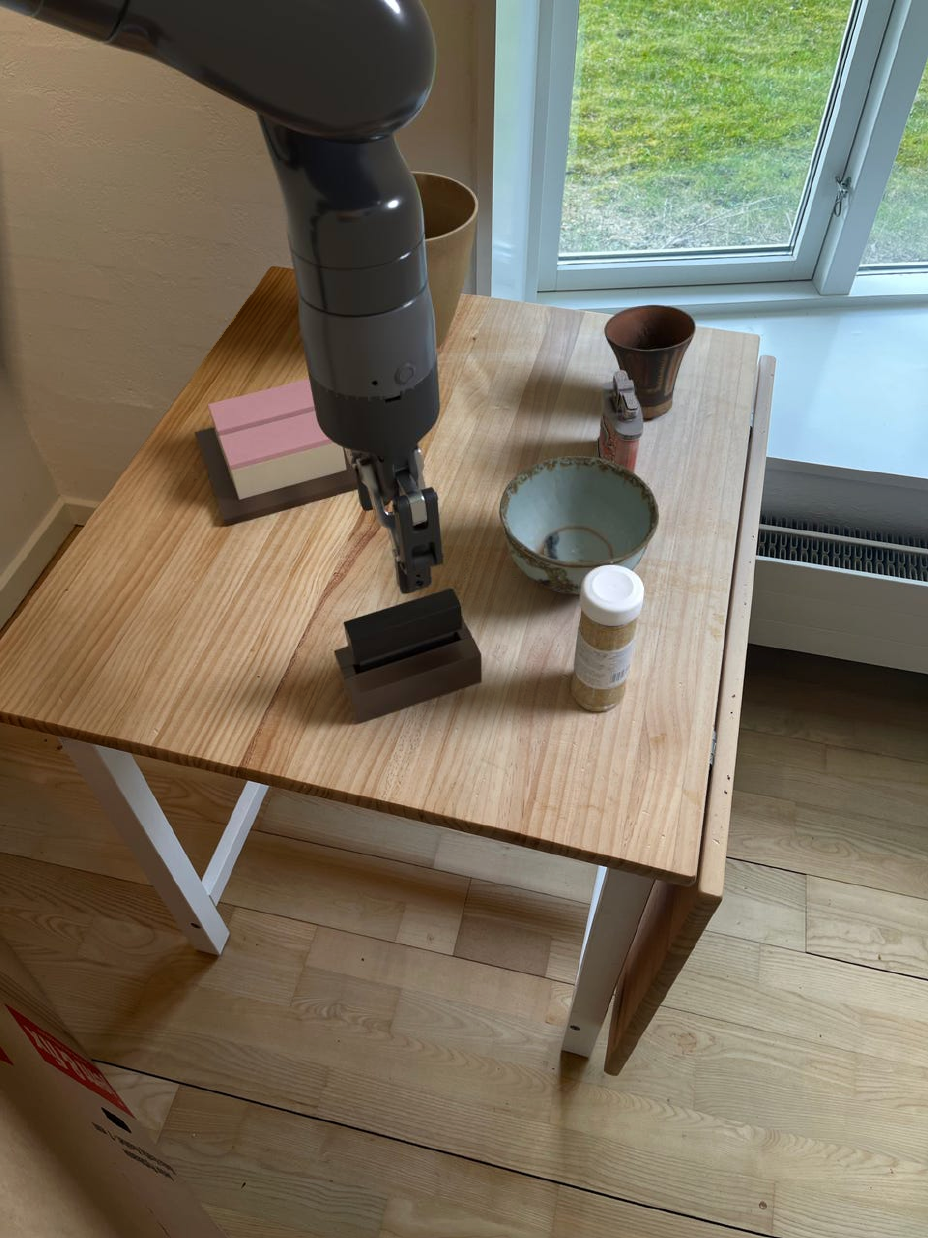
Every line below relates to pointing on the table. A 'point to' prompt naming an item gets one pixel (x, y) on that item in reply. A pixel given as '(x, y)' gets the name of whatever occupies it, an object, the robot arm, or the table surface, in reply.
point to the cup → (651, 351)
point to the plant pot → (446, 242)
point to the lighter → (620, 422)
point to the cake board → (268, 501)
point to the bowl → (576, 519)
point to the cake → (280, 455)
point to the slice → (261, 408)
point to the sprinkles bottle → (605, 636)
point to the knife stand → (410, 677)
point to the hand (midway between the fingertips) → (394, 544)
